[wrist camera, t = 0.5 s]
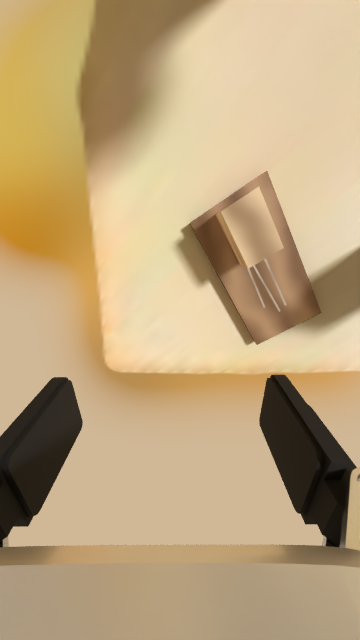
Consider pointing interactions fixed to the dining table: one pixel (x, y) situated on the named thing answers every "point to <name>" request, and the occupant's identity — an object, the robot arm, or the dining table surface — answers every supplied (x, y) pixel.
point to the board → (260, 271)
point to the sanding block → (250, 229)
